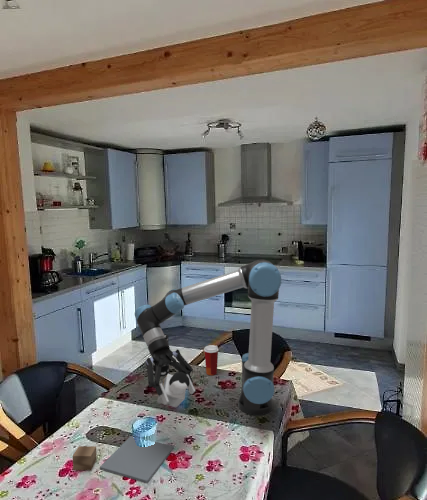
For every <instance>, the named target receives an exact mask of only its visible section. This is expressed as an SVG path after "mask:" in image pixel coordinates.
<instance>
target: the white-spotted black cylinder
mask: <svg viewBox="0 0 427 500" xmlns="http://www.w3.org/2000/svg"><path fill="white" fill-rule="evenodd" d="M164 335H165V339H166V340H167V342H168V345H169V335H168V334H167V333H166V334H164ZM169 346H170V345H169ZM152 365H153V377H155V373H156V363H154V362H153V363H152ZM167 374H170V365H165V366H163V367H161V374H160V378H162V377H166V375H167Z"/></svg>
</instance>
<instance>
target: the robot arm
mask: <svg viewBox="0 0 427 500" xmlns="http://www.w3.org/2000/svg"><path fill="white" fill-rule="evenodd" d="M281 285H282V276H281V273H280V270H279V269H278V268H277V266H276V265H275V264H273V263H272V262H271V261H269V260H266V259H257V260H254V261H253V262H252V261H251V262H250V263H247V264H244V265H242V266H239V268H238V269H237V270H234V271H232V272H231V271H230V272H228V273H224V274H222V275H218V276H215V277H212V278H209V279H206V280H202V281H200V282H195V283H192V284H190V285H187V286H184V287H180V288H177V289H176V288H174V289H170V290H169V291H168V292H166V293H165V296H164V297H163V298H161V300H159V301H158V302H157V303H155V304H154V305H150V304H144V305H141V306H139V307H137V308H136V309H135V311H134V316H135V320H136V323H137V326H138V328H139V331H140V332H141V336H142V338H143V340H144V343H145V345H146V346H147V349H148V351H149V355H150V356H151V357H146V359H145V361H144V363H145V365H146V370H147V383H148V384H147V385H148V387H149V388H154V389H155V390H156V393H157V396H158V395H159V396H160V395H161V398H162V400H163V403H164V404H163V405H164V406H167V405H166V404H167V403H168V402H169V400H168V397H167V395H166V392H165V390H164V387H163V385H162V383H161V380H160V379H161V377H160V374H161V367H163V366H165V365H169V367H172V368H174V369H175V370H176V371H177V372H183V373H185V374H186V375H187V376H188V378H189V381H190V384H189V386H188V388H187V389H188V391H189V393H190V395H193V394H195V392H196V389H195V386H194V385H193V382H194V381H193V378H192V375H191V373H192V372H193V371H194V369H193V367H192V366H191V365H190V364H189V363H188V361H187V359H185V358H184V357H183V355H182V354H181V352H180V350H179V349H176V350H174V351H172V350H171V349H170V345H168V344H169V341H168V342H167V340H166V339H165V335H164V331H163V330H162V327H161V324H162V323H164V322H165V321H166V320H168V319H170V318H171V317H173V316H175V315H177V314H178V313H179V312H180V311H182V310H183V309H184V307H185V306H187V305H190V304H193V303H194V304H195V303H196V302H200V301H203V300H206V299H207V300H208V299H210V298H213V297H216V296H220V295H222V294H226V293H229V292H233V291H235V290H236V291H237V290H238V289H242V288H244V289H247V297H248V299H250V301H251V304H250V305H251V306H250V322H249V323H250V324H249V343H248V344H249V345H248V352H247V353H244V354H242V357H241V390H240V393H239V396H238V399H237V406H238V408H239V410H240V411H242V412H243V413H245V414H249V415H253V416H254V415H255V416H261V415H266V414H268V413H270V412H271V411H273V409H274V400H273V397H274V395H275V385H274V374H275V373H274V372H275V367H274V364H273V363H272V362H271V356H272V341H273V339H272V338H273V328H274V327H273V323H274V307H275V302H276V301H277V300H279V292H280V288H281ZM153 362H154V363H156V373H155V376H154V375H153ZM160 383H161V384H160Z"/></svg>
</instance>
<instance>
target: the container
mask: <svg viewBox="0 0 427 500" xmlns="http://www.w3.org/2000/svg"><path fill="white" fill-rule="evenodd" d="M161 383H162V385H163V387H164V390H165V392H166V395H167V397H168V400H169V402H168V403H167V404H166V405H165V406H170V407H173V408H178V406H180V405H181V404H182V402H183V401H185V398H186V391H187V389H188V386H189V384H190V381H189V378H188V376H187V375H186V374H185V373H183V372H179V371H176V372H175V373H174V374H170V373H169V374H167V375H166V376H164V378H163V379H162V380H161V381H160V382H159V384H161ZM156 402H157V403H158V404H163V405H164V403H163V400H162V398H161V395H160V396H159V395H158V394H157V399H156Z"/></svg>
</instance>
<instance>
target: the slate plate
mask: <svg viewBox="0 0 427 500" xmlns="http://www.w3.org/2000/svg"><path fill="white" fill-rule="evenodd" d="M133 436H134V435H130V436H129V437H128V438H127V439H126V440H125V441H124V442H123V443H122V444H121V445H120V446H119V447H118V448H117V449H116V450H115V451H114V452H113V453H112V454H111V455H110V456H109V457H108V458H107V459H106V460H105V461H104V462H103V463H102V464H101V465H100V466H99V470H101V471H105V472H108V473H112V474H115V475H119V476H122V477H125V478H129V479H132V480H136V481H138V482H142V483H146V484H149V482H150V481H151V479H152V478H153V477H154V475H155V474H156V473H157V471H158V470H159V469H160V468H161V467H162V465H163V463H164V462H166V460H167V458H168V457H169V456H170V455H171V453H172V452H173V451H174V450H175V446H174V445H171V444H168V443H163V442H159V441H155V444H154V445H151V446H148V447H139V446H137V445H136V443H135V440H134V438H133Z"/></svg>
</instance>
